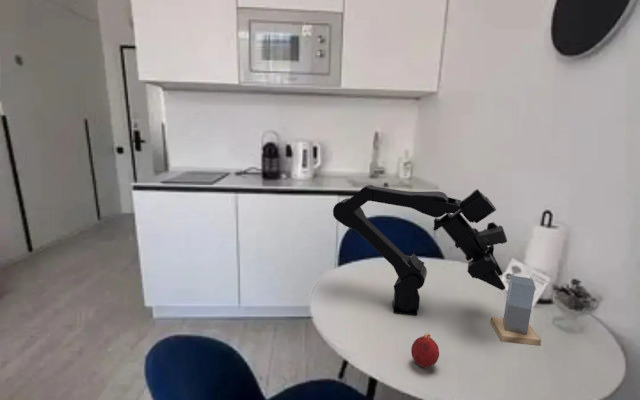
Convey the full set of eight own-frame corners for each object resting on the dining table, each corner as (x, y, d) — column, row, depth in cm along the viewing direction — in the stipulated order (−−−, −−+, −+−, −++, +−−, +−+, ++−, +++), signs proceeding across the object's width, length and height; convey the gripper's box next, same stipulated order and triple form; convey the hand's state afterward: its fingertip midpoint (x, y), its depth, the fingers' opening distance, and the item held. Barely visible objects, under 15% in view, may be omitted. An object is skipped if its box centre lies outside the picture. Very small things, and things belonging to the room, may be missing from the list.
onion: (432, 379, 77) (437, 345, 75) (406, 369, 80) (409, 336, 78) (440, 364, 82) (444, 332, 80) (414, 355, 85) (418, 323, 83)
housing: (504, 330, 93) (512, 282, 91) (503, 320, 98) (510, 275, 95) (526, 335, 92) (535, 286, 89) (524, 325, 96) (532, 278, 93)
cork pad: (501, 341, 91) (502, 335, 91) (490, 321, 100) (490, 316, 100) (540, 345, 90) (541, 339, 90) (525, 325, 99) (526, 320, 99)
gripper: (490, 224, 84) (537, 279, 82) (487, 207, 100) (527, 252, 99) (449, 251, 88) (493, 304, 87) (453, 230, 105) (490, 274, 104)
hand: (502, 281), depth 94 cm, fingers open, 9 cm apart
